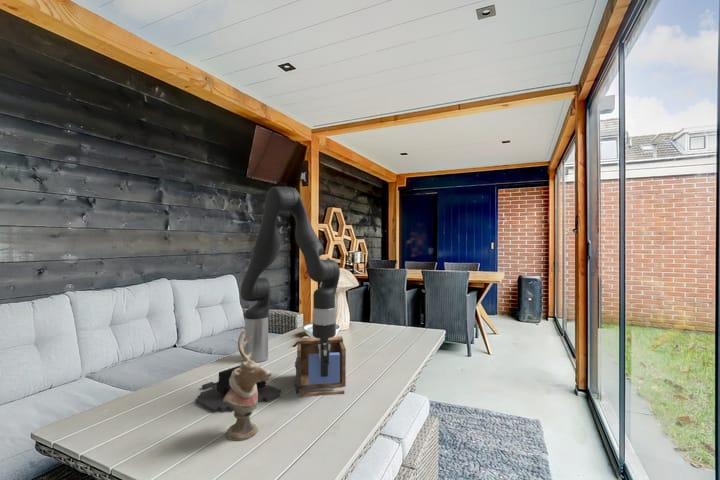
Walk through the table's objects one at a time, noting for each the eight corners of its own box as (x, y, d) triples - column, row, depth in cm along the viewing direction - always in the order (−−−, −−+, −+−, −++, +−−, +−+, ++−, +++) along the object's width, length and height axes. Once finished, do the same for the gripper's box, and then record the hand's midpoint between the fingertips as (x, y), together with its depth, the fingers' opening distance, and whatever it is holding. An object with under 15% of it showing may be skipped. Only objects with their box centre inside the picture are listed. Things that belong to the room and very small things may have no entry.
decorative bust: (279, 436, 85) (265, 332, 87) (224, 450, 82) (210, 342, 84) (279, 418, 96) (267, 326, 97) (230, 430, 93) (218, 335, 94)
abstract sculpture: (181, 367, 110) (237, 352, 126) (181, 397, 110) (237, 377, 126) (227, 388, 95) (284, 367, 111) (227, 422, 95) (284, 396, 111)
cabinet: (294, 396, 110) (294, 353, 110) (295, 375, 127) (296, 338, 127) (347, 393, 112) (347, 351, 112) (341, 373, 130) (341, 336, 130)
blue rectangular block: (308, 384, 112) (308, 356, 112) (308, 381, 115) (308, 353, 115) (339, 382, 114) (339, 354, 114) (339, 379, 116) (339, 352, 116)
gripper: (312, 317, 121) (311, 367, 120) (313, 326, 107) (312, 384, 107) (333, 316, 122) (333, 366, 122) (337, 325, 108) (337, 382, 108)
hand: (324, 374), depth 114 cm, fingers closed on blue rectangular block, 2 cm apart
